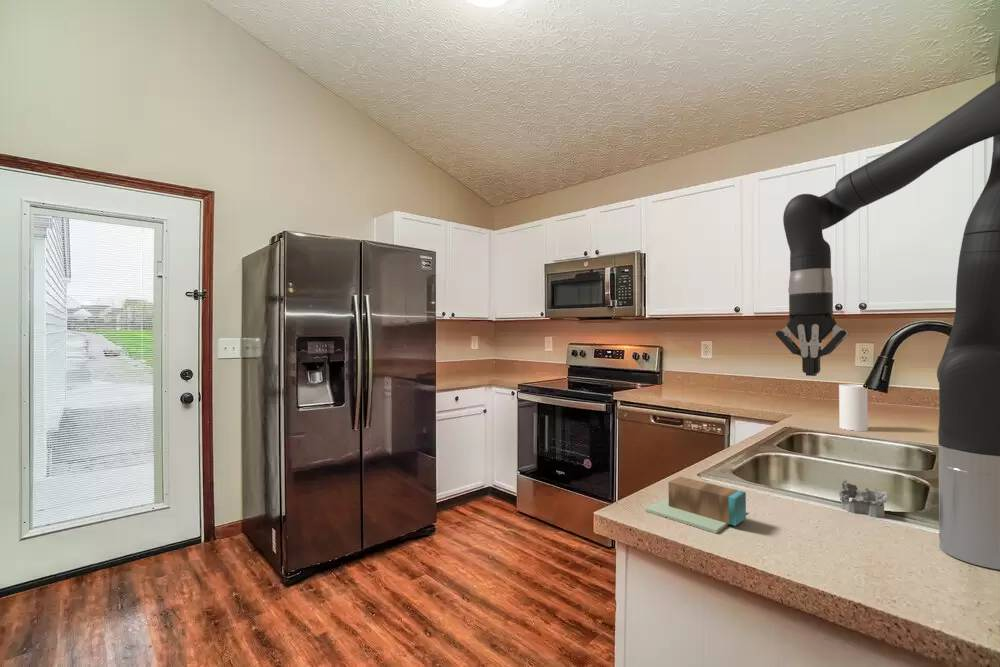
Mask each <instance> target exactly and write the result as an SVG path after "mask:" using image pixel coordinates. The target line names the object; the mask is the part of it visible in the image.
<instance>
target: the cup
mask: <svg viewBox="0 0 1000 667" xmlns="http://www.w3.org/2000/svg"><path fill="white" fill-rule="evenodd" d="M863 385H864V384H853V383H852V384H850V383H842V384H841V383H839V385H838V397H839V398H838V408H839V409H838V412H839V413H838V414H839V415H838V416H839V420H838V421H839V424H838V425H839V429H841V428H842V429H841V430H844V429H846V430H845V431H850V430H854V431H853V432H868V431H869V419H868V418H869V412H868V411H869V410H868V404H869V403H868V402H869V400H868V396H869V395H868V388H867V389H865V388H864V387H863Z"/></svg>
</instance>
